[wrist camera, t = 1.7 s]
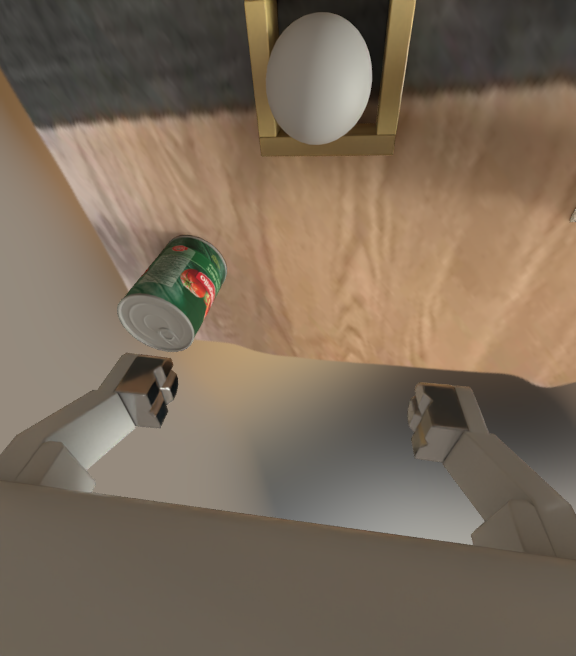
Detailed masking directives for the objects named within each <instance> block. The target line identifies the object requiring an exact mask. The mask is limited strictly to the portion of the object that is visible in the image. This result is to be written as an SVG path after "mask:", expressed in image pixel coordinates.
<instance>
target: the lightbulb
mask: <svg viewBox="0 0 576 656" xmlns="http://www.w3.org/2000/svg"><path fill="white" fill-rule="evenodd" d="M371 84H372V64H371V59H370V54H369V51H368V48H367V46H366V43H365V41H364V39H363V37H362V36H361V34H360V33H359V31H358V30H357V29H356V28H355V27H354V26H353V25H352V24H351V23H350V22H349V21H348V20H346V19H344V18H343V17H341V16H339V15H336V14H332V13H329V12H316V13H312V14H308V15H305V16H303V17H301V18H299V19H297V20H296V21H294V22H293V23H292V24H290V25H289V26H288V27H287V28H286V29H285V30H284V31H283V33H282V34H281V35H280V37H279V38H278V40H277V41H276V43H275V45H274V47H273V50H272V52H271V55H270V58H269V62H268V65H267V73H266V93H267V98H268V103H269V106H270V109H271V112H272V114H273V116H274V118H275V120H276V121H277V123H278V124H279V126H280V127H281V128H282V129H283V130H284V132H286V133H287V134H288V135H289V136H291V137H292V138H294V139H296V140H297V141H299V142H302V143H306V144H310V145H321V144H327V143H330V142H332V141H335V140H337V139H339V138H340V137H342V136H343V135H345V134H346V133H347V132H348V131H349V130H351V129H352V128H353V127H354V126H355V124H356V123H357V121H358V120H359V119H360V117H361V116H362V114H363V112H364V110H365V108H366V105H367V102H368V99H369V96H370V91H371Z"/></svg>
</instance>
